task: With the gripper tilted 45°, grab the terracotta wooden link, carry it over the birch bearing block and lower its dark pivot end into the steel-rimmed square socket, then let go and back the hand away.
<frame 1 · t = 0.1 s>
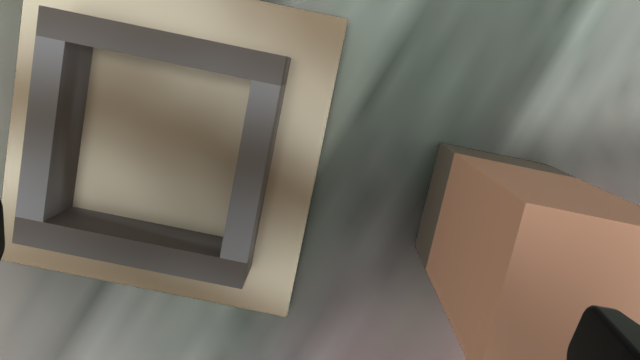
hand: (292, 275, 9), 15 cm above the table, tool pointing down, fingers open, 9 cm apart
bearing block: (171, 140, 24), on the table
pivot link: (479, 205, 25), on the table
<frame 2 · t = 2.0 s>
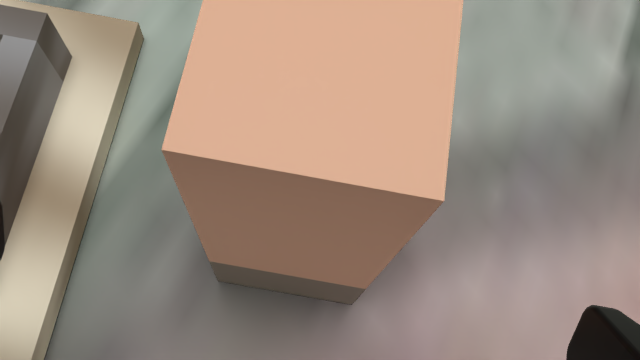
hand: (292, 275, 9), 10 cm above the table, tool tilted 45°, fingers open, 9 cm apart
pivot link: (296, 228, 20), on the table
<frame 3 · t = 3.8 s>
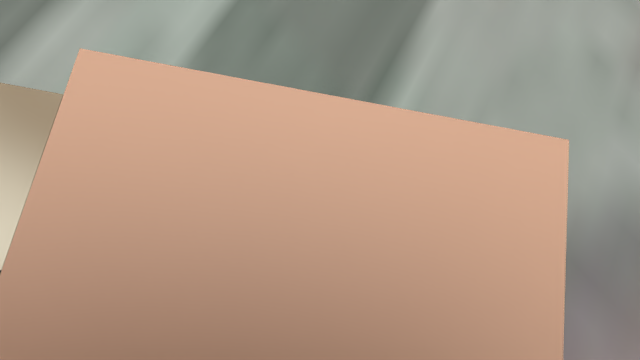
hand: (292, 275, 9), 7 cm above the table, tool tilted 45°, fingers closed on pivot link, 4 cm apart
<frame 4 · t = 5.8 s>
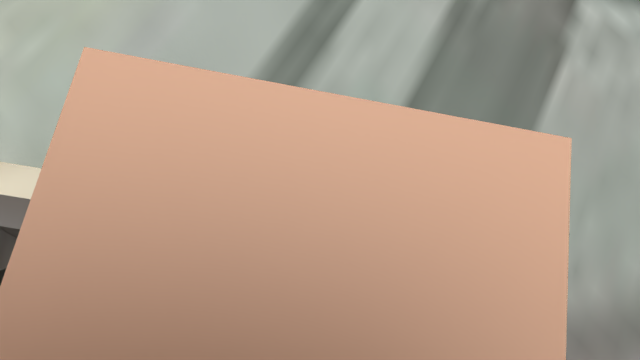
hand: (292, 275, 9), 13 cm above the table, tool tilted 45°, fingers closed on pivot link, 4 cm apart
bearing block: (99, 352, 21), on the table
when the fingers open (8 cm above the table, at t = 8.0 s): pivot link stays where it is, resting on bearing block.
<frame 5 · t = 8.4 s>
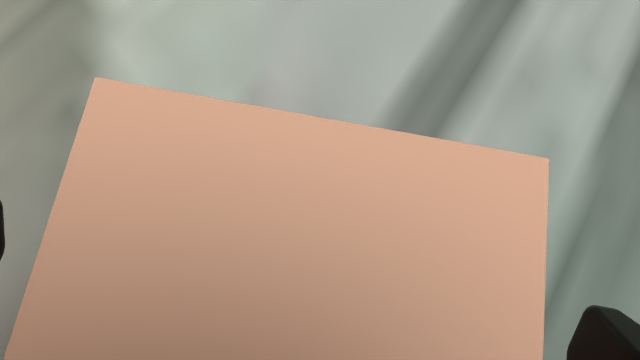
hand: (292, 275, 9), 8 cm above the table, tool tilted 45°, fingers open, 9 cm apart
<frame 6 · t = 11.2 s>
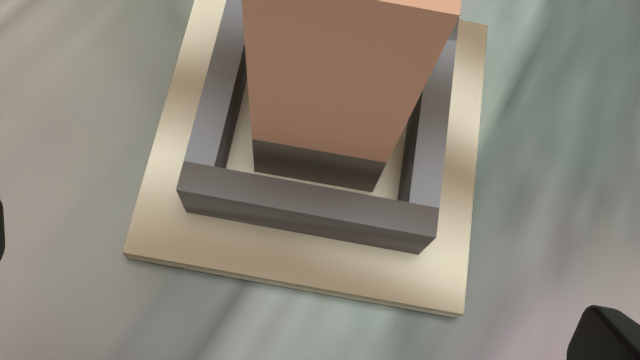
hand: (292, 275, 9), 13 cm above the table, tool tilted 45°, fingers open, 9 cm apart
bearing block: (320, 138, 24), on the table
pivot link: (322, 128, 23), point 1 cm above the table, touching bearing block
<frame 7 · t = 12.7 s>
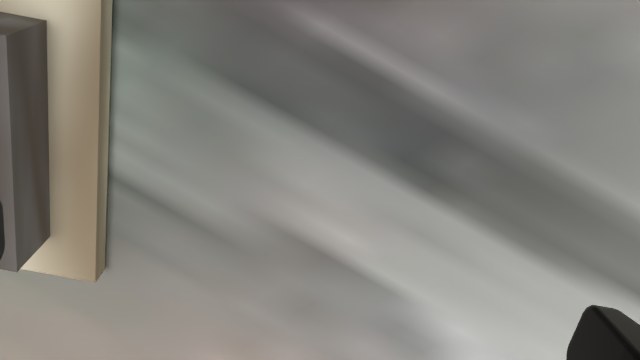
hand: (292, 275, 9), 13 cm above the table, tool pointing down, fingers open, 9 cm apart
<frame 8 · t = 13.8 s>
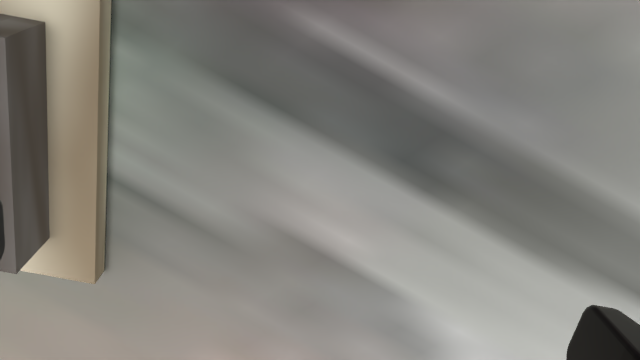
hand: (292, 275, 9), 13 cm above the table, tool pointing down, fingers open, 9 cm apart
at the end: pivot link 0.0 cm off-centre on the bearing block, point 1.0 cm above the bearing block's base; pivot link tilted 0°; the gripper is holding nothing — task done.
